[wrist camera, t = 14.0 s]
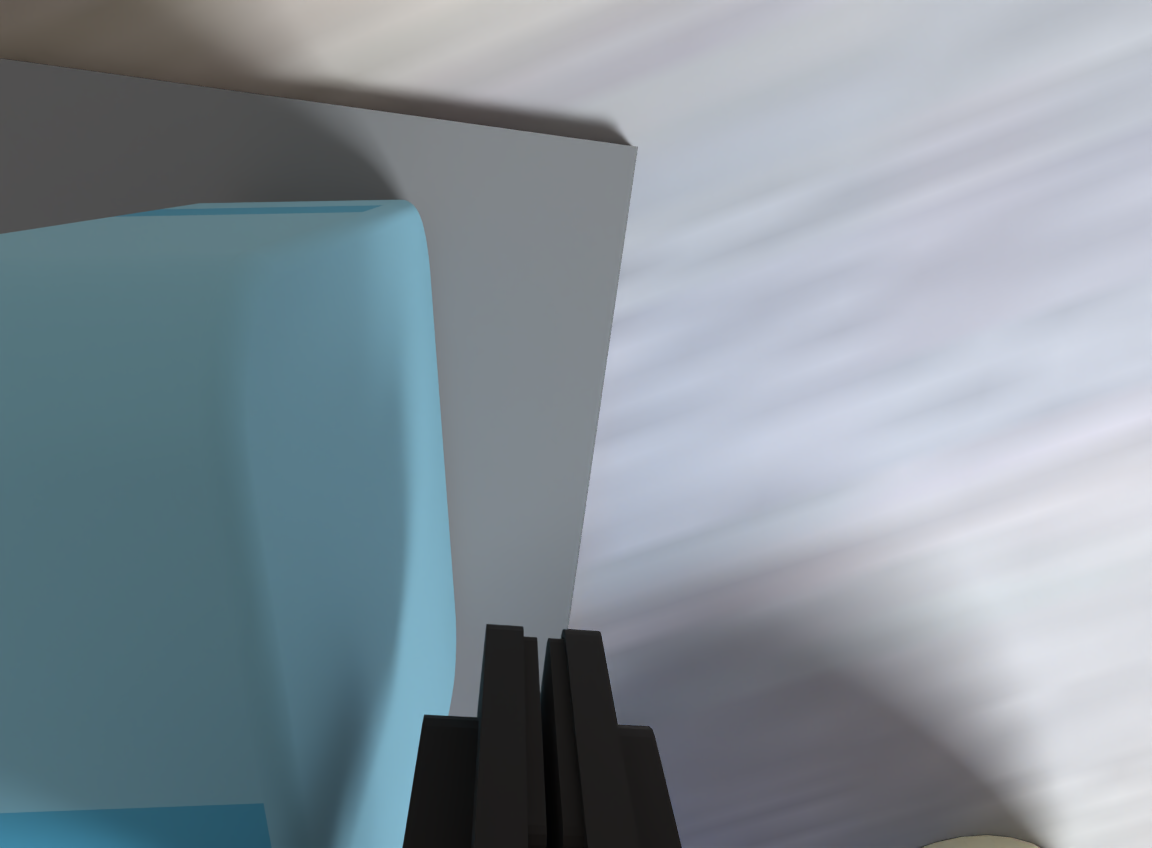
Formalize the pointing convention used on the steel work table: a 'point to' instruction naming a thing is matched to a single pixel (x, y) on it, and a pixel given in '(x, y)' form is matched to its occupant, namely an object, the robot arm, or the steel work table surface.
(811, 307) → the steel work table surface
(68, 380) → the data package
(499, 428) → the mat
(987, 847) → the reusable coffee cup
